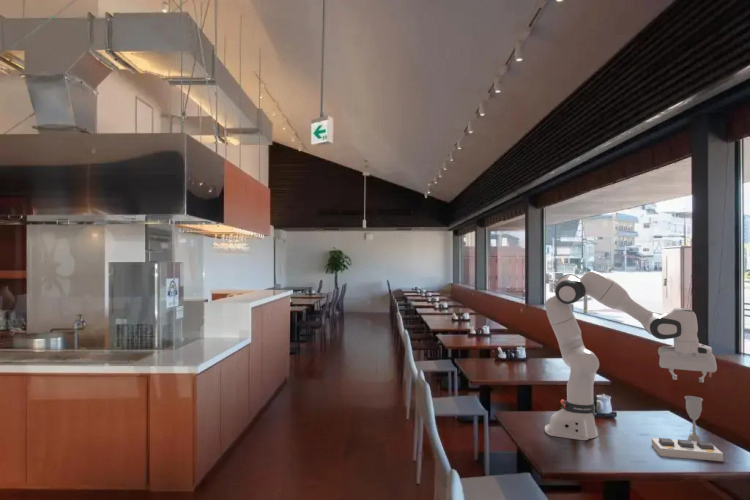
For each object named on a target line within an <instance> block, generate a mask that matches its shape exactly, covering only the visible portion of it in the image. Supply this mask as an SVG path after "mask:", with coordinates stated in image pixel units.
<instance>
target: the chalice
mask: <svg viewBox="0 0 750 500" xmlns="http://www.w3.org/2000/svg"><path fill="white" fill-rule="evenodd" d="M684 399H685V410H686V412H687V415H688V416H689V418H690V419H691V420H692V423H691V424H692V427H691V429H692V433H689V435H688V437H687V440H690V441H695V442H697V441H702V440H701V437H700V435H699V434H698V433H697V432H696V430H697V428H696V426H697V423H696V421H697V420H698V419H699V418H700V416H701V413H702V411H703V406H702V405H703V401H704V399H703V398H702V397H698V396H694V395H684Z"/></svg>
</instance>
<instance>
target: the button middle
mask: <svg viewBox="0 0 750 500" xmlns="http://www.w3.org/2000/svg"><path fill="white" fill-rule="evenodd" d="M677 440H678V445H679V446H680V447H686V448H694V444H693V443H692V442H691V440H688V439H680V438H679V439H677Z"/></svg>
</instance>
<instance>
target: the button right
mask: <svg viewBox="0 0 750 500" xmlns="http://www.w3.org/2000/svg"><path fill="white" fill-rule="evenodd" d="M713 445H714V444H713ZM713 445H712V442H710V441H703V440H701V441H697V446H698V447H699V448H700V449H710V450H714V446H715V445H714V446H713Z"/></svg>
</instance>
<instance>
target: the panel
mask: <svg viewBox="0 0 750 500" xmlns="http://www.w3.org/2000/svg"><path fill="white" fill-rule="evenodd" d="M671 440H672V441H673V442H674V446H662V445H661V444H660V443H659V438H657V437H655V438H654V437H652V438H651V446H652V448H653V449H654V450H655V452H657V454H658V455H659V456H660V457H668V458H669V457H670V458H681V459H682V458H683V459H693V460H703V461H705V460H707V461H714V462H724V453H723V452H722V451H721V450H719V448H717V447H716V445H714V444H712V443H711V444H712V445H713V446H714V450H710V449H700V448H699V447H698V446H697V442H695V441H691V440H690V441H691V442H692V443H693V444H694V448H686V447H680V446H679V445H678V439H671Z"/></svg>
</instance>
